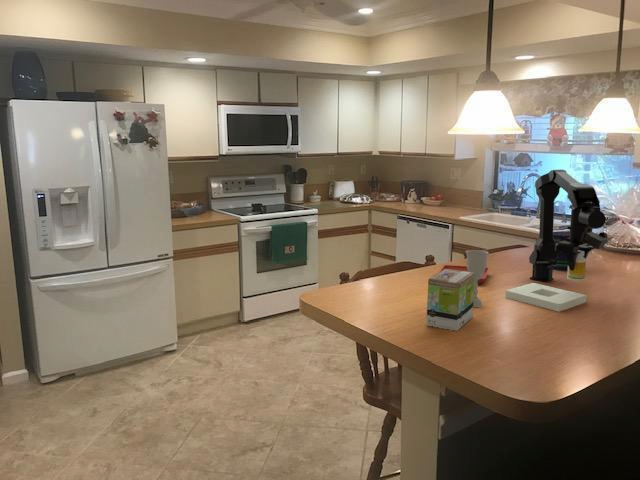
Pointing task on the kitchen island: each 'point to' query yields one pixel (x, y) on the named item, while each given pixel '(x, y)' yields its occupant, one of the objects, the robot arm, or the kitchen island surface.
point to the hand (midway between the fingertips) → (576, 268)
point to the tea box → (450, 299)
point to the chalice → (476, 269)
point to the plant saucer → (464, 268)
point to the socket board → (546, 296)
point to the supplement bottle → (578, 268)
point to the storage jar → (561, 262)
